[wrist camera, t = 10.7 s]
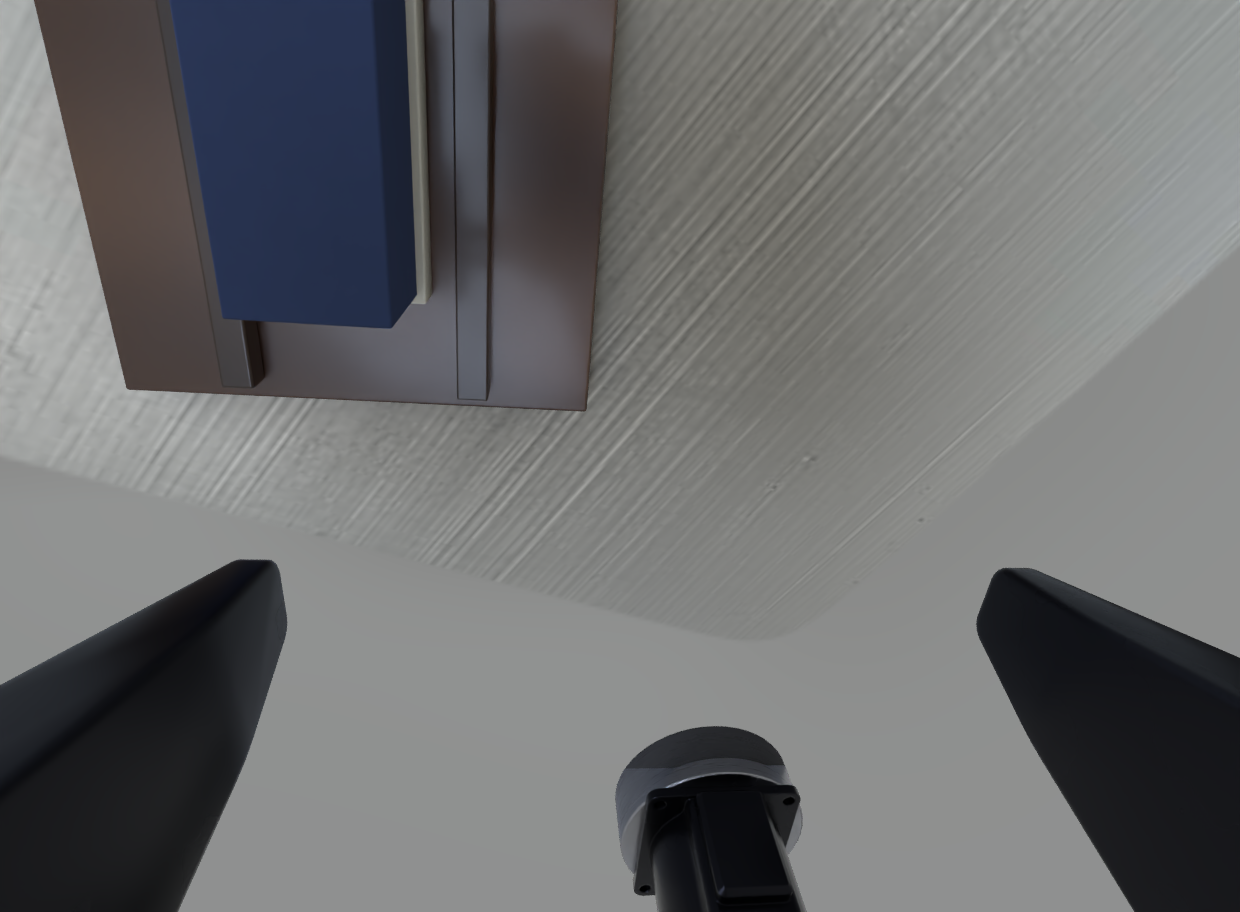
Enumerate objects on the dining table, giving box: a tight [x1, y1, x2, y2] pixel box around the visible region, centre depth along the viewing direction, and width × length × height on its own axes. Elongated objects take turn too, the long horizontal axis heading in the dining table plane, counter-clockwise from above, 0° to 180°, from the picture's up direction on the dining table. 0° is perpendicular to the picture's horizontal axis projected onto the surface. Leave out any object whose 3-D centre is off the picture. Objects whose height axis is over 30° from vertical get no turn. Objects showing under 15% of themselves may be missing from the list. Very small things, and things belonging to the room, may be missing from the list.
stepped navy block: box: [169, 0, 432, 329], centre depth 13 cm, size 8×4×4 cm, turn 174°
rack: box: [34, 0, 618, 411], centre depth 15 cm, size 14×12×2 cm
